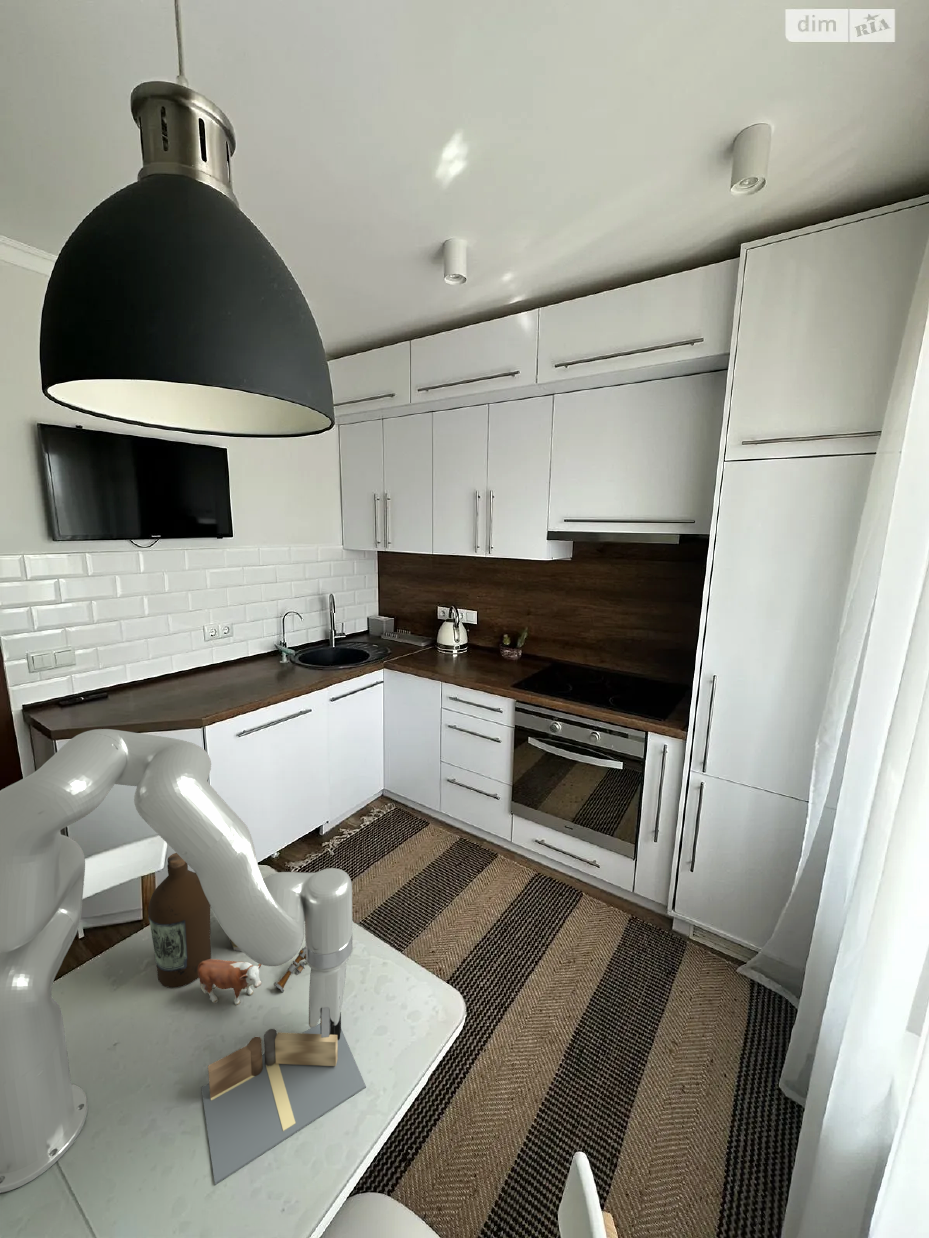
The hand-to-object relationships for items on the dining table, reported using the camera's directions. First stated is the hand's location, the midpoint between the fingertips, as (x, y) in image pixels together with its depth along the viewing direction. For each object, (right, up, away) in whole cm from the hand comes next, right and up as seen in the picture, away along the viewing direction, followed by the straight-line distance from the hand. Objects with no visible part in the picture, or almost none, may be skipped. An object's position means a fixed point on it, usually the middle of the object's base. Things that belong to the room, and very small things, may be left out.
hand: (331, 1035), depth 85 cm
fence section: (-14, -3, -6) cm, 15 cm away
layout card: (-6, -3, -6) cm, 9 cm away
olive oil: (-34, +1, +14) cm, 37 cm away
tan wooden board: (-4, -2, -3) cm, 5 cm away
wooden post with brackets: (-11, 0, +13) cm, 18 cm away
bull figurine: (-21, 0, +9) cm, 23 cm away
